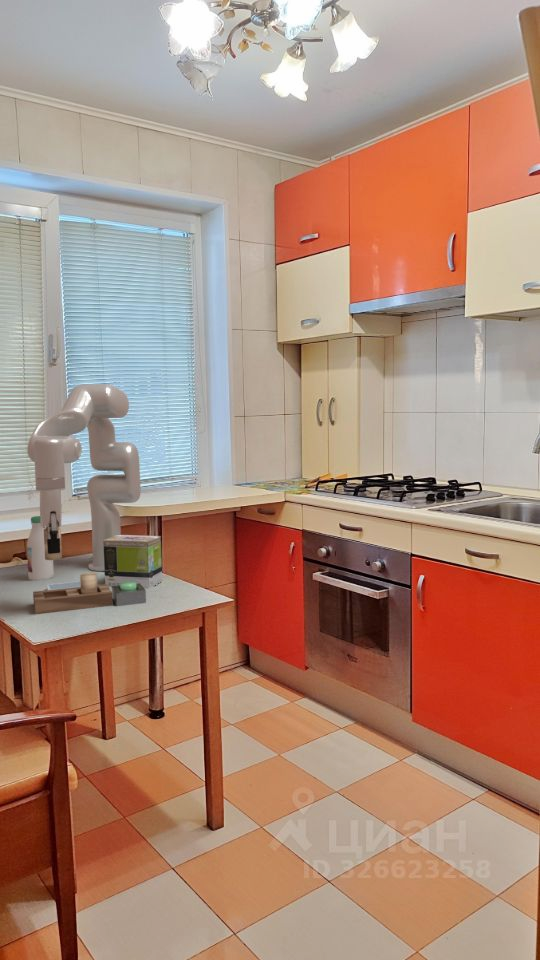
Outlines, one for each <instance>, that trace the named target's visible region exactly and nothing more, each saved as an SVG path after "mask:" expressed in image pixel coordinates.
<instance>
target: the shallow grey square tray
mask: <svg viewBox="0 0 540 960" xmlns="http://www.w3.org/2000/svg"><path fill="white" fill-rule="evenodd" d="M74 587H81V581H77V580H76V581H71V582H70V581H69V582H57V583H50V584H49V583H48V584H46V590H55V589H65V588H74Z"/></svg>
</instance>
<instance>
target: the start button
mask: <svg viewBox="0 0 540 960" xmlns="http://www.w3.org/2000/svg"><path fill="white" fill-rule="evenodd" d="M120 590H121V591H130V590H137V589H136V582H123V583H121V584H120Z"/></svg>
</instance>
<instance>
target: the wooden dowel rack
mask: <svg viewBox="0 0 540 960" xmlns="http://www.w3.org/2000/svg"><path fill="white" fill-rule="evenodd" d="M32 598H33V599H32V601H33V607H34V613H35V615H40V614H49V613H58V612H59V613H60V612H67V611H68V612H69V611H75V610H85V609H93V608H94V609H95V608H103V607H111V606H113V605H114V604H113V603H114V602H113V599H112V589H111V588H110V586H107V584H105V583H104V584H97V593H88V594H81V587H74V588H65V589H55V590H47V589H46V590H38V591H37V590H36V591H33V592H32Z"/></svg>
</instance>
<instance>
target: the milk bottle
mask: <svg viewBox="0 0 540 960" xmlns="http://www.w3.org/2000/svg"><path fill="white" fill-rule="evenodd" d="M30 524H31V530H30V533H29V535H28V538H27V542H26V543H27V544H26V553H27V574H28V579H29V581H43V580H44V581H45V580H50V579H53V578H54V576H55V575H54V573H55V572H54V571H55V569H54V560H45V547H44V529H46V526H45V528H43V527H42V526H41V523H40V515H35V516H31V517H30Z"/></svg>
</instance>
